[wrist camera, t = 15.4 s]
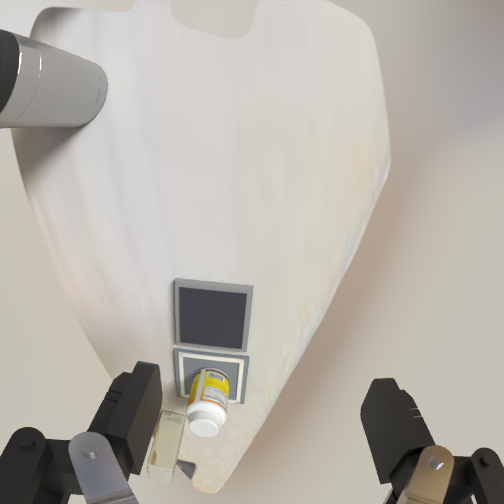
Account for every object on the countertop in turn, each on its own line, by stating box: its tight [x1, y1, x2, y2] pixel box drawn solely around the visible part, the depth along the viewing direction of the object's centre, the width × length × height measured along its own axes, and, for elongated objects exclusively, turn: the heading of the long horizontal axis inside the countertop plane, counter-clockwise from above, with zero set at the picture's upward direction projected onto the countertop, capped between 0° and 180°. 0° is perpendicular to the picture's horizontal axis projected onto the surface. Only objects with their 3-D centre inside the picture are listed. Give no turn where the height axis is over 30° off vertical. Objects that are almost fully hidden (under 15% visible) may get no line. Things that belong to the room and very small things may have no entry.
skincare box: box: [147, 411, 185, 484], centre depth 44 cm, size 6×4×12 cm
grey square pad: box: [174, 348, 249, 404], centre depth 45 cm, size 11×10×1 cm
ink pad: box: [175, 278, 253, 352], centre depth 41 cm, size 10×10×1 cm
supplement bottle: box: [186, 368, 229, 437], centre depth 40 cm, size 6×6×10 cm
